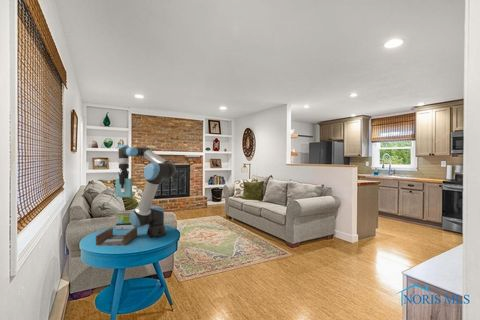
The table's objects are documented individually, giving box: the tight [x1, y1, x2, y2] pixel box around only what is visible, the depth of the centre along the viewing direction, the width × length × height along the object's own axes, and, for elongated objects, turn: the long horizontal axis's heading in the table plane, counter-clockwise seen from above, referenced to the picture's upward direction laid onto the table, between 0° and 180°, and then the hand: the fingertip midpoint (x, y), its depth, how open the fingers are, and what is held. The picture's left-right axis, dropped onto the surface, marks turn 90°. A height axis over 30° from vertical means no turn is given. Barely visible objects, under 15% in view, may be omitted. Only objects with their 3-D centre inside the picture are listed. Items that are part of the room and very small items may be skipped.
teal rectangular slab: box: [115, 178, 133, 198], centre depth 200 cm, size 12×3×15 cm, turn 90°
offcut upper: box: [103, 239, 123, 244], centre depth 174 cm, size 12×5×2 cm, turn 99°
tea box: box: [115, 209, 135, 230], centre depth 216 cm, size 15×10×15 cm
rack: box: [95, 227, 138, 247], centre depth 180 cm, size 20×20×8 cm
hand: (124, 191), depth 200 cm, fingers closed on teal rectangular slab, 3 cm apart
